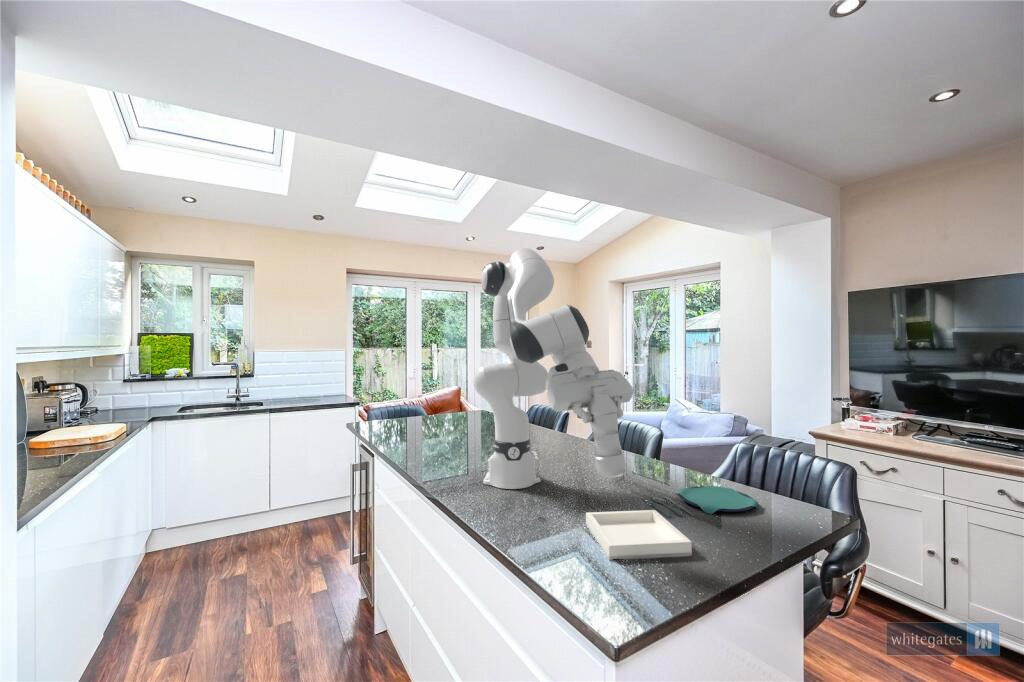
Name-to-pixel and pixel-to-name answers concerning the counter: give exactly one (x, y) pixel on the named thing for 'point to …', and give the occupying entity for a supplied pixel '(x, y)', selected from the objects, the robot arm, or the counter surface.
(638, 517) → the ceramic dish
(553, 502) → the counter surface
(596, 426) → the plastic bottle
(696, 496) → the cutlery set
